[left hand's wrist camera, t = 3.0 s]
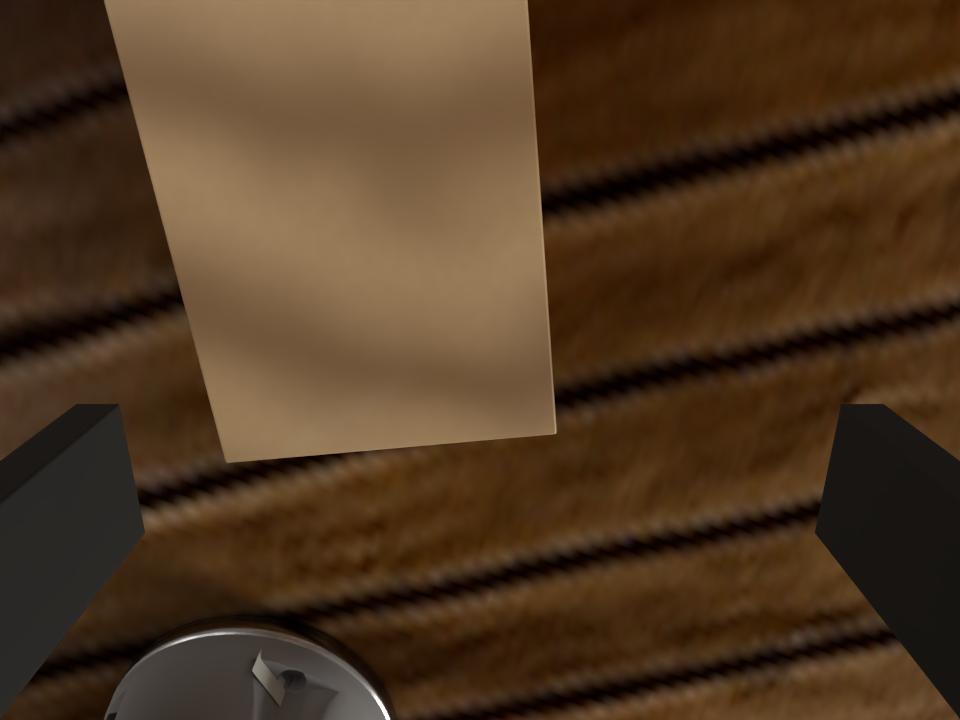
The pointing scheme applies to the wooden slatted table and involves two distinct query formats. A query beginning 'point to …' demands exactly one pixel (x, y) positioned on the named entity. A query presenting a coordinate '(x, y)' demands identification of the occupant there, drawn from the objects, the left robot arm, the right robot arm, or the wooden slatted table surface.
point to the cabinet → (349, 215)
